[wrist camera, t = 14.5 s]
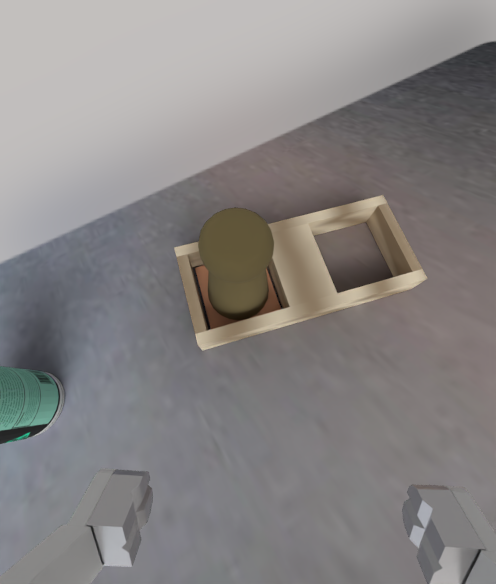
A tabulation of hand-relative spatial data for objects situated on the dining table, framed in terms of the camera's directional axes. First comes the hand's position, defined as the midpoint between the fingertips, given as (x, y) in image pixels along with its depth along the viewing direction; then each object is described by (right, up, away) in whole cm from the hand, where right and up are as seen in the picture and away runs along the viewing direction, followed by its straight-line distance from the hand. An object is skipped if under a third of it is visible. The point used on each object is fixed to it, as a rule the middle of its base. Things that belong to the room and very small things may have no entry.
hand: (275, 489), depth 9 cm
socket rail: (+4, +8, +21) cm, 22 cm away
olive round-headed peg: (-2, +6, +20) cm, 21 cm away
